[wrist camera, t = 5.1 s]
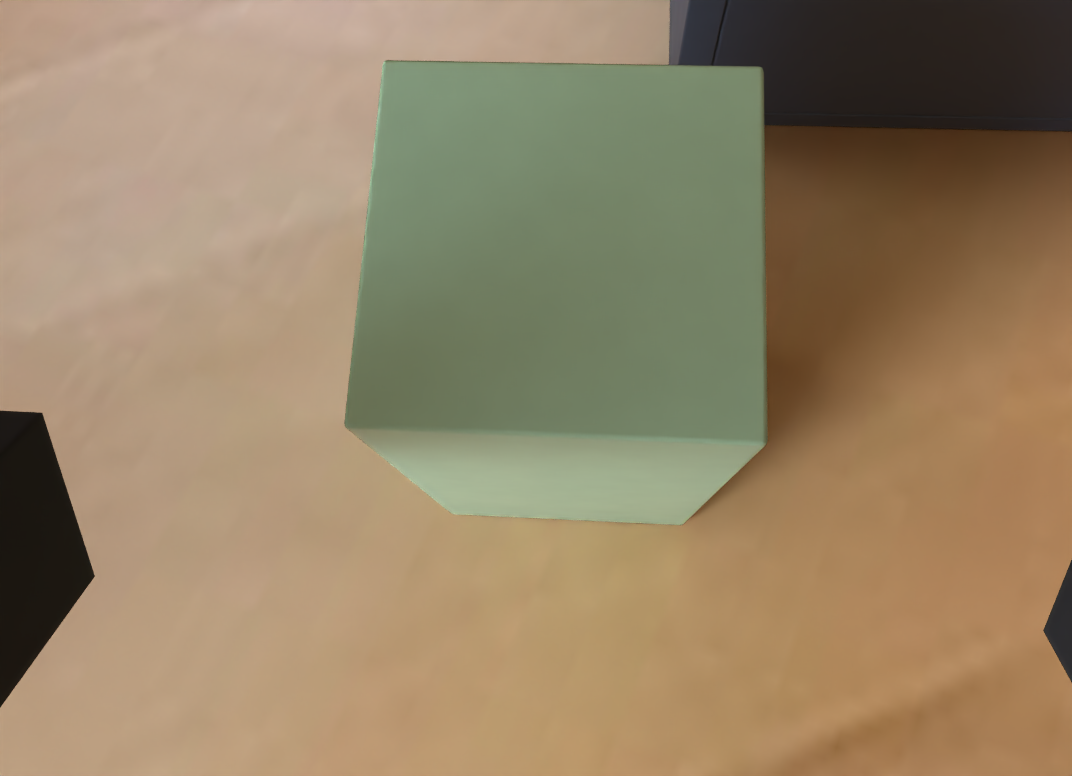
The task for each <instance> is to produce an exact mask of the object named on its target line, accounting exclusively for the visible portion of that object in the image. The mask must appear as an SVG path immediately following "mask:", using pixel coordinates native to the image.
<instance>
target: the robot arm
mask: <svg viewBox="0 0 1072 776" xmlns="http://www.w3.org/2000/svg"><path fill="white" fill-rule="evenodd" d="M94 577H95V575H94V572H93V569H92V566H91V563H90V560H89V557H88V554H87V551H86V548H85V545H84V541H83V538H82V535H81V532H80V529H79V526H78V523H77V520H76V517H75V514H74V510H73V507H72V504H71V501H70V498H69V495H68V492H67V489H66V486H65V483H64V479H63V476H62V473H61V470H60V467H59V464H58V461H57V458H56V455H55V452H54V449H53V445H52V442H51V439H50V436H49V433H48V430H47V427H46V424H45V421H44V418H43V414H42V413H35V412H13V411H0V707H1V706H2V704H3V703H4V702H5V700H6V699H7V697H8V696H9V695H10V693H11V692H12V690H13V689H14V688H15V686H16V685H17V683H18V682H19V681H20V679H21V678H22V677H23V675H24V674H25V672H26V671H27V670H28V668H29V667H30V665H31V664H32V663H33V661H34V660H35V658H36V657H37V656H38V654H39V653H40V652H41V650H42V649H43V647H44V646H45V645H46V643H47V642H48V640H49V639H50V638H51V636H52V635H53V633H54V632H55V631H56V629H57V628H58V627H59V625H60V624H61V622H62V621H63V620H64V618H65V617H66V615H67V614H68V613H69V611H70V610H71V608H72V607H73V606H74V604H75V603H76V602H77V600H78V599H79V597H80V596H81V595H82V593H83V592H84V590H85V589H86V588H87V586H88V585H89V584H90V582H91V581H92V579H93V578H94ZM1043 631H1044V633H1045V635H1046V636H1047V638H1048V640H1049V642H1050V644H1051V646H1052V647H1053V649H1054V651H1055V653H1056V655H1057V656H1058V658H1059V660H1060V662H1061V664H1062V666H1063V667H1064V669H1065V671H1066V673H1067V675H1068V677H1069V678H1070V680H1071V682H1072V560H1071V563H1070V565H1069V568H1068V570H1067V573H1066V575H1065V578H1064V580H1063V583H1062V585H1061V588H1060V590H1059V593H1058V595H1057V598H1056V600H1055V603H1054V605H1053V608H1052V610H1051V613H1050V615H1049V618H1048V620H1047V623H1046V625H1045V628H1044V630H1043Z"/></svg>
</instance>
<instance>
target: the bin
mask: <svg viewBox="0 0 1072 776" xmlns="http://www.w3.org/2000/svg"><path fill="white" fill-rule="evenodd" d="M669 65H695V66H755V67H762V69H763V72H764V125H791V126H840V127H889V128H937V129H986V130H1035V131H1072V0H670V39H669Z"/></svg>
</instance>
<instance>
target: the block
mask: <svg viewBox="0 0 1072 776" xmlns="http://www.w3.org/2000/svg"><path fill="white" fill-rule="evenodd" d="M345 427H346V428H347V429H348V430H349V431H351V432H352V433H353V434H354V435H356V436H357V437H358V438H359V439H360V440H362V441H363V442H364V443H365V444H367V445H368V446H369V447H370V448H372V449H373V450H374V451H375V452H376V453H378V454H379V455H380V456H381V457H383V458H384V459H385V460H386V461H387V462H389V463H390V464H391V465H392V466H394V467H395V468H396V469H397V470H399V471H400V472H401V473H402V474H403V475H405V476H406V477H407V478H408V479H410V480H411V481H412V482H413V483H414V484H416V485H417V486H418V487H419V488H421V489H422V490H423V491H424V492H426V493H427V494H428V495H429V496H430V497H432V498H433V499H434V500H435V501H437V502H438V503H439V504H440V505H442V506H443V507H444V508H445V509H446V510H448V511H449V512H450V513H452V514H458V515H479V516H500V517H521V518H542V519H563V520H584V521H605V522H626V523H647V524H668V525H682V524H684V523H685V522H686V521H687V520H688V519H689V518H690V517H691V516H692V515H693V514H694V513H695V512H697V511H698V510H699V509H700V508H701V507H702V506H703V505H704V504H705V503H706V502H707V501H708V500H709V499H710V498H711V497H712V496H713V495H714V494H715V493H716V492H717V491H718V490H720V489H721V488H722V487H723V486H724V485H725V484H726V483H727V482H728V481H729V480H730V479H731V478H732V477H733V476H734V475H735V474H736V473H737V472H738V471H739V470H740V469H741V468H742V467H744V466H745V465H746V464H747V463H748V462H749V461H750V460H751V459H752V458H753V457H754V456H755V455H756V454H757V453H758V452H759V451H760V450H761V449H762V448H763V447H764V446H765V445H766V444H767V441H768V424H767V329H766V233H765V137H764V72H763V69H762V67H755V66H695V65H635V64H575V63H514V62H454V61H394V60H387V61H384V63H383V67H382V77H381V86H380V95H379V105H378V114H377V124H376V133H375V142H374V152H373V161H372V170H371V180H370V189H369V198H368V208H367V217H366V227H365V236H364V245H363V255H362V264H361V273H360V283H359V292H358V301H357V311H356V320H355V330H354V339H353V348H352V358H351V367H350V376H349V386H348V395H347V404H346V414H345Z"/></svg>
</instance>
